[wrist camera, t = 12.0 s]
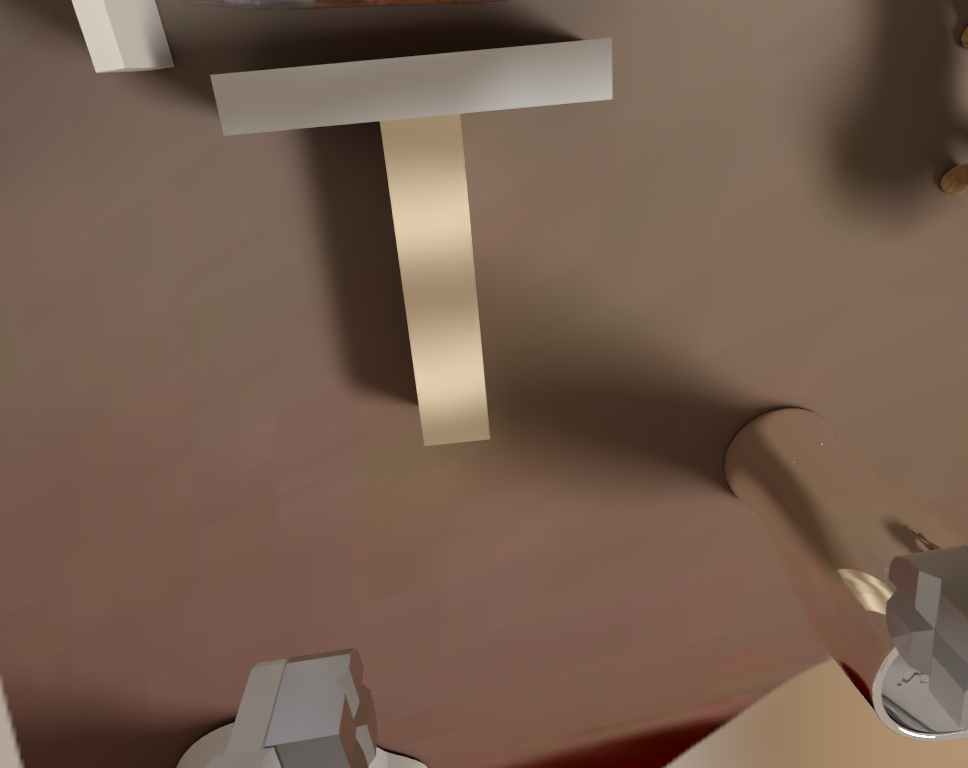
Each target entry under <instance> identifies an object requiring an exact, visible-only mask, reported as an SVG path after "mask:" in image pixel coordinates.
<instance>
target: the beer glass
mask: <svg viewBox="0 0 968 768" xmlns="http://www.w3.org/2000/svg"><path fill="white" fill-rule="evenodd" d="M724 472H725V477H726V480H727V483H728V485H729V487H730V489H731V490H732V491H733V493H734V494H735V495H736V496H737V497H738V498H739V499H740V500H741V501H742V502H743V503H745V504H746V505H747V506H748V507H749V508H750V509H752V510H753V511H754V512H755V513H756V514H757V515H758V516H759V517H760V518H761V520H762V521H763V522H764V524H765V526H766V527H767V529H768V531H769V533H770V536H771V538H772V540H773V543H774V545H775V548H776V551H777V553H778V556H779V559H780V561H781V564H782V566H783V569H784V571H785V574H786V576H787V579H788V581H789V584H790V586H791V588H792V590H793V592H794V595H795V597H796V599H797V601H798V603H799V605H800V607H801V609H802V611H803V613H804V614H805V616H806V618H807V619H808V621H809V623H810V624H811V626H812V628H813V629H814V631H815V633H816V634H817V636H818V637H819V639H820V640H821V642H822V643H823V645H824V646H825V647H826V649H827V650H828V652H829V653H830V654H831V656H832V657H833V659H834V660H835V661H836V663H837V664H838V665H839V667H841V669H842V670H843V672H844V673H845V674H846V676H847V677H848V678H849V679H850V681H851V682H852V683H853V684H854V686H855V687H856V688H857V689H858V690H859V692H860V693H861V694H862V696H864V698H865V699H866V700H867V702H868V703H869V704H870V706H871V707H872V708H873V709H874V711H875V712H876V714H877V716H878V718H879V719H880V720H881V722H882V723H883V724H885V726H886V727H888V728H889V729H890V730H892V731H893V732H895V733H897V734H899V735H901V736H904V737H906V738H909V739H913V740H918V741H924V742H947V741H955V740H960V739H965V738H968V727H964V728H960V727H959V726H958V725H957V724H956V723H955V721H954V720H953V719H952V718H951V717H950V715H949V714H948V713H947V712H946V711H945V709H944V708H943V707H942V706H941V705H940V703H939V702H938V701H937V700H936V698H935V697H934V696H933V695H932V694H931V692H930V691H929V676H928V675H926V674H924V673H922V672H920V671H918V670H916V669H914V668H912V667H910V666H908V664H907V663H906V662H905V661H904V659H903V658H902V657H901V655H900V654H899V653H898V651H897V649H896V648H895V646H894V644H893V642H892V640H891V638H890V634H889V631H888V627H887V624H886V602H887V601H888V600H889V598H890V597H891V596H892V595H893V593H894V592H895V591H896V590H897V588H896V587H895V585H894V584H893V583H892V582H891V581H890V580H889V579H888V577H889V567H890V564H891V562H892V560H893V558H894V557H895V556H901V555H906V554H912V553H917V552H923V551H929V550H934V549H940V548H946V547H951V546H960V545H961V544H965V543H968V537H967V536H966V535H965V534H963V533H962V532H961V531H960V530H959V529H957V528H956V527H955V526H954V525H953V524H951V523H950V522H949V521H948V520H947V519H946V518H944V517H943V516H942V515H940V514H939V513H937V512H936V511H934V510H933V509H931V508H930V507H928V506H927V505H925V504H924V503H923V502H921V501H920V500H918V499H917V498H915V497H913V496H912V495H910V494H908V493H907V492H905V491H903V490H902V489H900V488H898V487H897V486H895V485H893V484H892V483H890V482H888V481H887V480H885V479H883V478H881V477H880V476H878V475H876V474H875V473H873V472H871V471H870V470H868V469H867V468H865V467H864V466H862V465H861V464H859V463H858V462H857V461H856V460H855V459H853V458H852V457H851V455H850V454H849V453H848V452H847V451H846V449H845V448H844V446H843V444H842V443H841V441H840V439H839V438H838V436H837V434H836V433H835V431H834V430H833V428H832V427H831V426H830V425H829V424H828V422H827V421H826V420H824V419H823V418H822V417H821V416H819V415H817V414H815V413H813V412H811V411H808V410H804V409H799V408H783V409H778V410H774V411H770V412H767V413H765V414H763V415H761V416H759V417H757V418H755V419H753V420H752V421H750V422H749V423H748V424H747V425H745V426H744V427H743V428H742V429H741V430H740V431H739V432H738V434H737V435H736V436H735V437H734V439H733V440H732V442H731V444H730V445H729V448H728V450H727V453H726V456H725V461H724Z"/></svg>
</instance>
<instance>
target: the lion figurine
mask: <svg viewBox="0 0 968 768" xmlns="http://www.w3.org/2000/svg"><path fill="white" fill-rule="evenodd" d="M961 41H962V44H963V46H964V48H966V49H968V26H967V28H966V29H965V31H964V32H963V35H962V38H961ZM940 186H941V188H942V190H943V191H944V192H945V193H947V194H950V195H957V194H959V193H963V192H965V191H966V189H967V186H968V163H967V164H963V165H960V166H956V167H954V168H952V169H951V170H950V171H948V172H947V173H946V174H945V175H944V176H943V178H942V180H941V183H940Z"/></svg>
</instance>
